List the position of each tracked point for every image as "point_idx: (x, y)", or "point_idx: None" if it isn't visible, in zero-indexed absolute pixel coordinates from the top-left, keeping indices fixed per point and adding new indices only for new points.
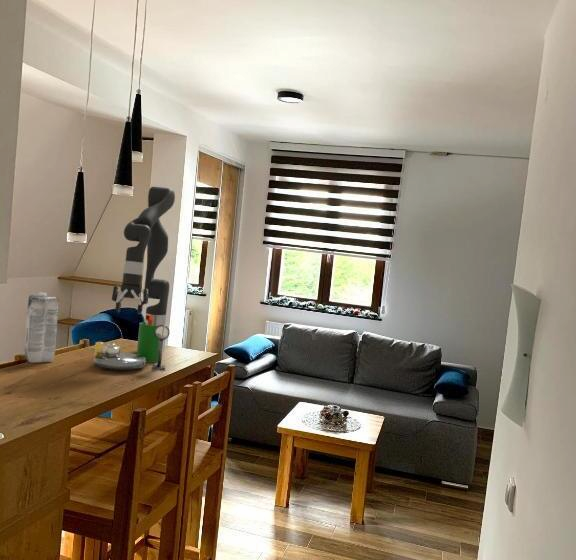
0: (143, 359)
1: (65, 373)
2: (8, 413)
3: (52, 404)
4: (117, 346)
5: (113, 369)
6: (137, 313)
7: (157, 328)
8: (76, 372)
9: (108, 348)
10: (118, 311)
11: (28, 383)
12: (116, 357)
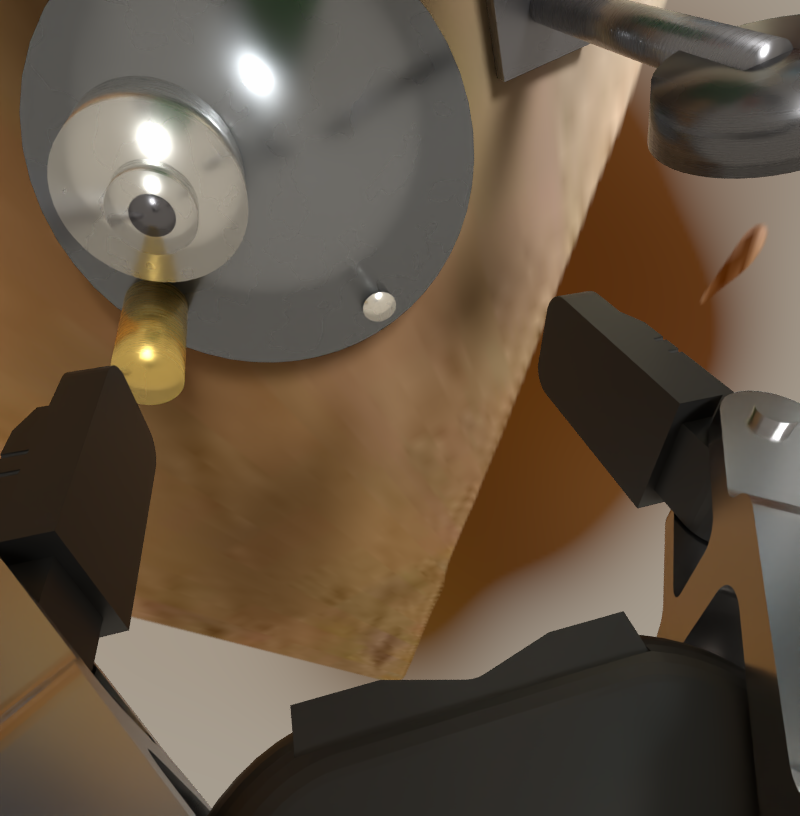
0: (457, 141)
1: None
2: (324, 661)
3: (360, 613)
4: (184, 139)
5: None
6: (549, 384)
7: (733, 173)
8: (165, 414)
9: (188, 279)
10: (150, 448)
11: (171, 581)
12: (252, 215)
